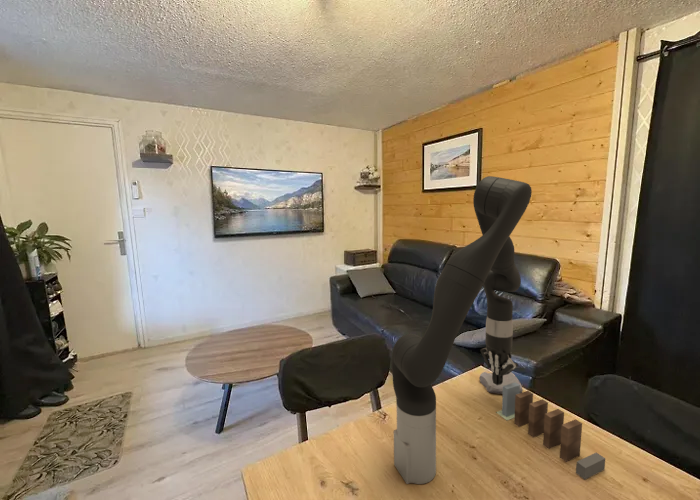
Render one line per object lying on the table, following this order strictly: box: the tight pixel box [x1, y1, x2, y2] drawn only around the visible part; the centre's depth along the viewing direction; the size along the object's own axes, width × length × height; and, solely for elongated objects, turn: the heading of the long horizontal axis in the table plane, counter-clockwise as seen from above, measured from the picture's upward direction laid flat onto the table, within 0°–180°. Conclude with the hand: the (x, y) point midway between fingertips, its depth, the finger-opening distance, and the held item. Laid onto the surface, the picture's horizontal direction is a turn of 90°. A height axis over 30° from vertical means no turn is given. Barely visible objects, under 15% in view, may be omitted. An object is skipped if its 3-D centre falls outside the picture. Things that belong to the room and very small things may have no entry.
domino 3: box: [527, 398, 549, 438], centre depth 86 cm, size 5×2×9 cm, turn 111°
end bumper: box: [575, 452, 606, 480], centre depth 74 cm, size 7×2×3 cm, turn 111°
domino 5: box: [559, 418, 583, 463], centre depth 78 cm, size 5×2×9 cm, turn 111°
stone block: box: [479, 371, 524, 395], centre depth 108 cm, size 12×5×10 cm
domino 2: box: [513, 390, 534, 428], centre depth 90 cm, size 5×2×9 cm, turn 111°
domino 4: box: [542, 408, 565, 450], centre depth 82 cm, size 5×2×9 cm, turn 111°
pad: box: [495, 409, 515, 421], centre depth 95 cm, size 7×4×1 cm, turn 111°
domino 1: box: [501, 382, 520, 417], centre depth 95 cm, size 5×2×9 cm, turn 111°
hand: (497, 383), depth 99 cm, fingers closed
